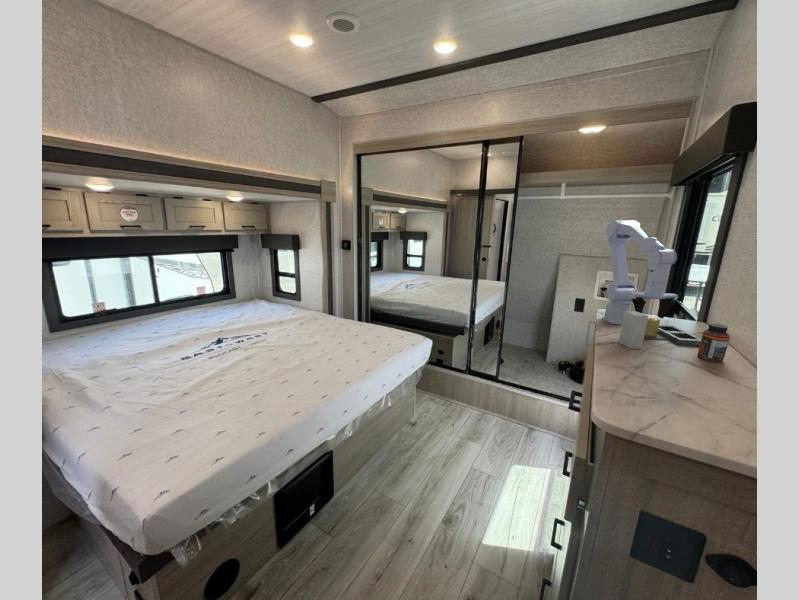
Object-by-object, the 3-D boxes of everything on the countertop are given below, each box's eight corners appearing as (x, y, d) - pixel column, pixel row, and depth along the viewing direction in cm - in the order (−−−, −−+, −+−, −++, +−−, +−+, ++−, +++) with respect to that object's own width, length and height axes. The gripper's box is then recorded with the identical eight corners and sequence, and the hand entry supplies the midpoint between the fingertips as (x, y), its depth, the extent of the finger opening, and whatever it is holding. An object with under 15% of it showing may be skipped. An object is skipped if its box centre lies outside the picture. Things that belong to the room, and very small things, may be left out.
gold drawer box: (636, 332, 120) (639, 315, 118) (649, 332, 119) (652, 316, 117) (643, 336, 115) (646, 319, 114) (656, 336, 115) (660, 319, 113)
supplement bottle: (693, 353, 101) (701, 321, 98) (716, 356, 99) (725, 323, 96) (702, 361, 95) (711, 327, 93) (727, 364, 93) (737, 329, 90)
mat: (626, 330, 122) (626, 329, 122) (651, 331, 121) (651, 330, 121) (639, 338, 114) (639, 337, 114) (666, 340, 112) (666, 339, 112)
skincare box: (642, 348, 105) (649, 315, 102) (629, 348, 105) (636, 315, 102) (629, 342, 111) (635, 310, 108) (617, 342, 111) (623, 310, 108)
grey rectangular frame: (649, 329, 124) (650, 324, 124) (671, 330, 123) (672, 325, 122) (678, 345, 108) (679, 339, 107) (704, 346, 106) (705, 341, 106)
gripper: (641, 283, 110) (634, 319, 113) (686, 284, 107) (678, 321, 111) (630, 280, 116) (623, 313, 120) (673, 281, 114) (665, 315, 117)
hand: (649, 317), depth 116 cm, fingers open, 7 cm apart
